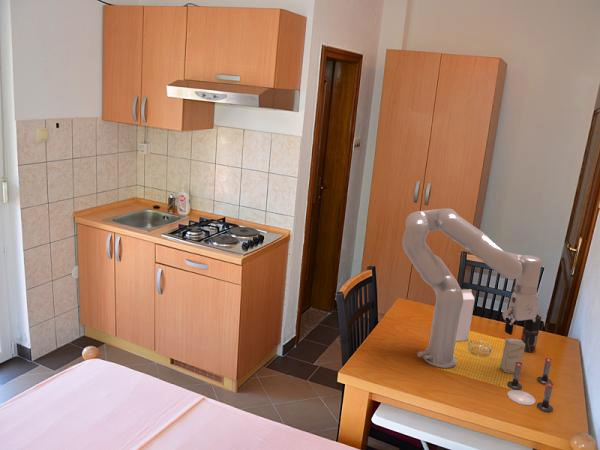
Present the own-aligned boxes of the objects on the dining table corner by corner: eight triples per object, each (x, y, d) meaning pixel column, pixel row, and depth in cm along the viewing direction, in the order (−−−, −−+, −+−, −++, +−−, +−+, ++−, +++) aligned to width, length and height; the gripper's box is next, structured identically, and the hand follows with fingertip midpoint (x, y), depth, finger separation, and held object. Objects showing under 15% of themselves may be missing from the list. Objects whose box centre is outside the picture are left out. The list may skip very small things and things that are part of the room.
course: (544, 413, 173) (549, 388, 171) (504, 383, 190) (508, 360, 188) (587, 405, 180) (592, 381, 178) (544, 377, 197) (548, 355, 195)
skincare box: (503, 372, 198) (509, 343, 195) (499, 366, 203) (505, 337, 200) (520, 374, 198) (526, 344, 195) (516, 368, 202) (521, 339, 200)
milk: (468, 340, 224) (476, 292, 219) (455, 341, 222) (463, 292, 217) (460, 334, 230) (468, 286, 224) (447, 334, 228) (455, 287, 223)
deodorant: (532, 354, 216) (539, 320, 212) (517, 349, 219) (524, 316, 216) (536, 349, 220) (542, 316, 217) (521, 344, 224) (527, 312, 220)
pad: (520, 407, 175) (520, 405, 175) (501, 392, 184) (502, 391, 184) (541, 403, 179) (541, 402, 179) (521, 389, 187) (522, 388, 187)
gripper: (514, 294, 186) (507, 338, 190) (551, 290, 192) (543, 333, 196) (499, 287, 193) (493, 330, 197) (536, 283, 199) (528, 325, 203)
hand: (518, 332), depth 197 cm, fingers open, 9 cm apart
